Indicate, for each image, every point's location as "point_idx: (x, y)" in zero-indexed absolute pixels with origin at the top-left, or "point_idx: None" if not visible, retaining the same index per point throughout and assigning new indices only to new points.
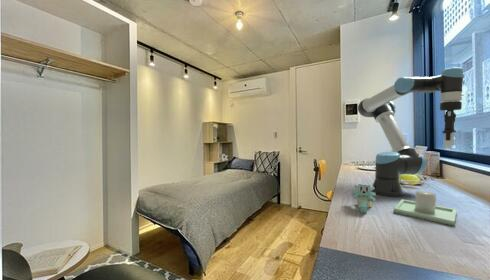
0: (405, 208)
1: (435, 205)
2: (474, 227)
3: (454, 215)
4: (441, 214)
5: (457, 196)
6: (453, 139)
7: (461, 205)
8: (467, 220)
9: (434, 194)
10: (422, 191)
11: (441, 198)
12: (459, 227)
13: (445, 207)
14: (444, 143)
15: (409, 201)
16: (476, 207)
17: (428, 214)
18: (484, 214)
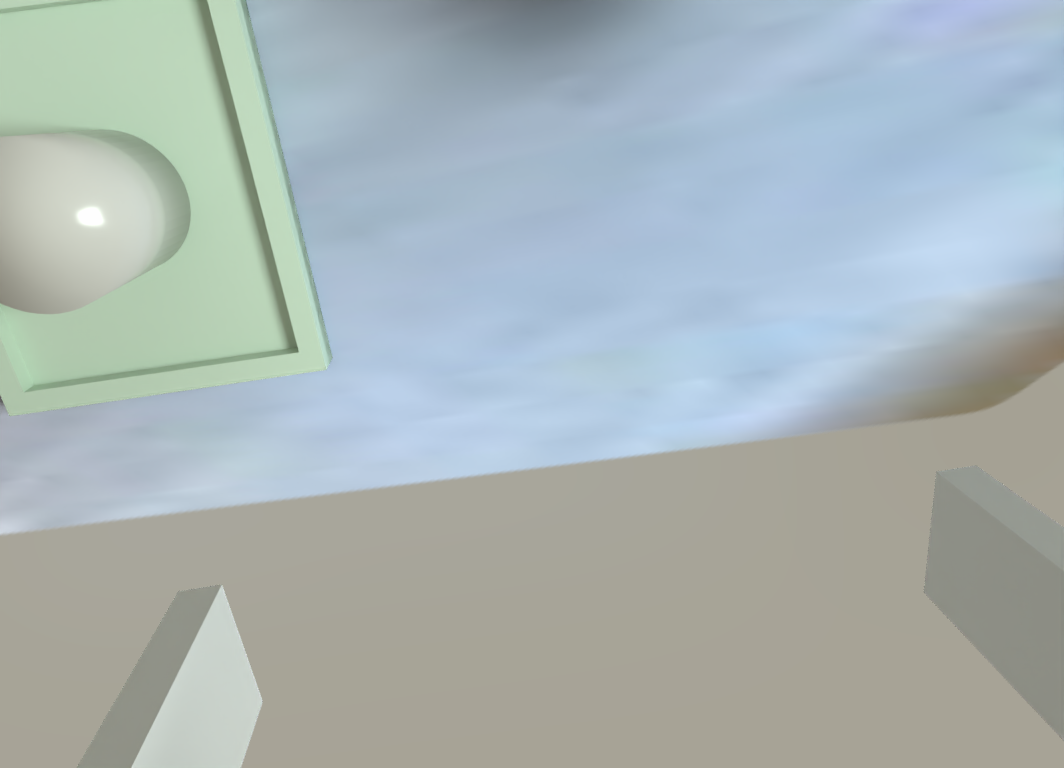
0: (17, 63)
1: (292, 241)
2: (134, 475)
3: (145, 390)
4: (149, 310)
5: (887, 266)
6: (1044, 718)
7: (602, 339)
8: (241, 428)
9: (67, 299)
10: (78, 185)
11: (716, 187)
12: (42, 423)
13: (304, 306)
14: (133, 682)
15: (218, 35)
16: (627, 414)
17: None
18: (482, 470)
